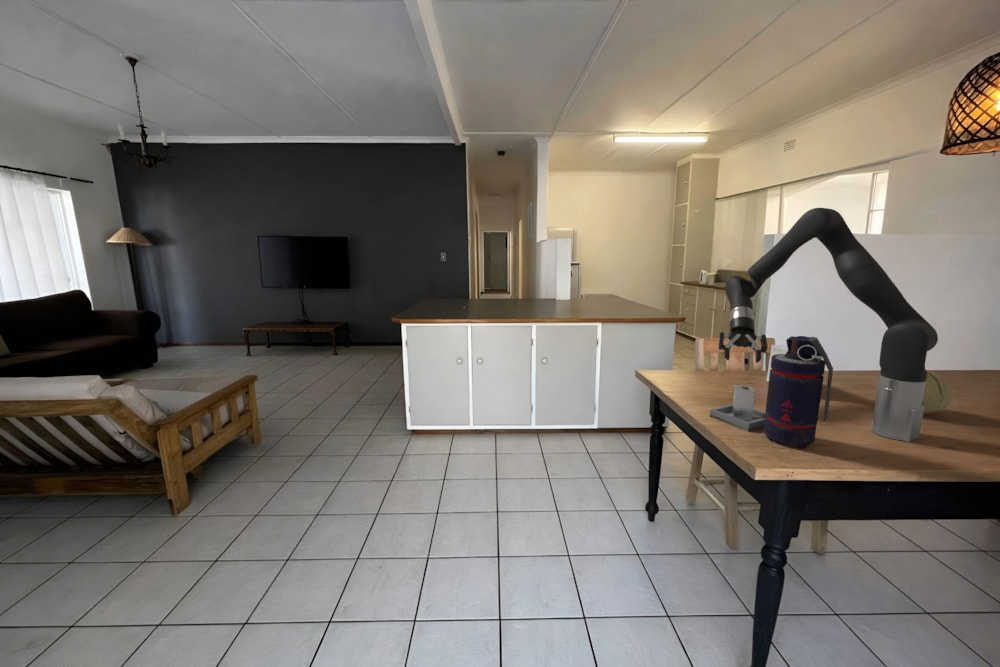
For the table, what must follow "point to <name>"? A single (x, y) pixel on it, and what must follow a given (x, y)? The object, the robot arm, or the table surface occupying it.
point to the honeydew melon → (936, 393)
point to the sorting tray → (726, 416)
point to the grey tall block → (743, 402)
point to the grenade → (796, 392)
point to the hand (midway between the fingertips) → (742, 360)
